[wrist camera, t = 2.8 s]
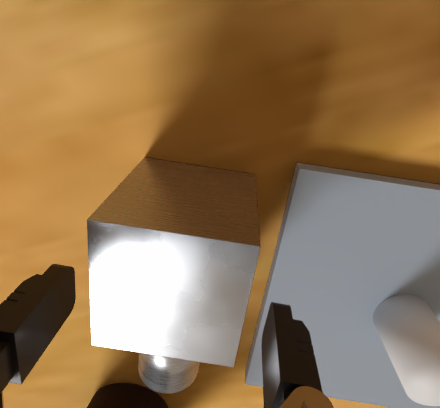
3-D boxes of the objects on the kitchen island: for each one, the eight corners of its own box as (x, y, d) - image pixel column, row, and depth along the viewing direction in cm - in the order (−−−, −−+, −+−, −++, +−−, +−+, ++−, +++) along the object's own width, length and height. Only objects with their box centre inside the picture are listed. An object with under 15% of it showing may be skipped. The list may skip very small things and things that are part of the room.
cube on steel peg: (144, 157, 18) (87, 219, 12) (255, 174, 18) (260, 246, 11) (138, 298, 22) (93, 403, 16) (228, 312, 22) (221, 423, 16)
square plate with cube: (296, 162, 18) (316, 208, 13) (602, 209, 17) (744, 274, 12) (245, 371, 24) (244, 454, 19) (464, 406, 24) (520, 498, 19)
